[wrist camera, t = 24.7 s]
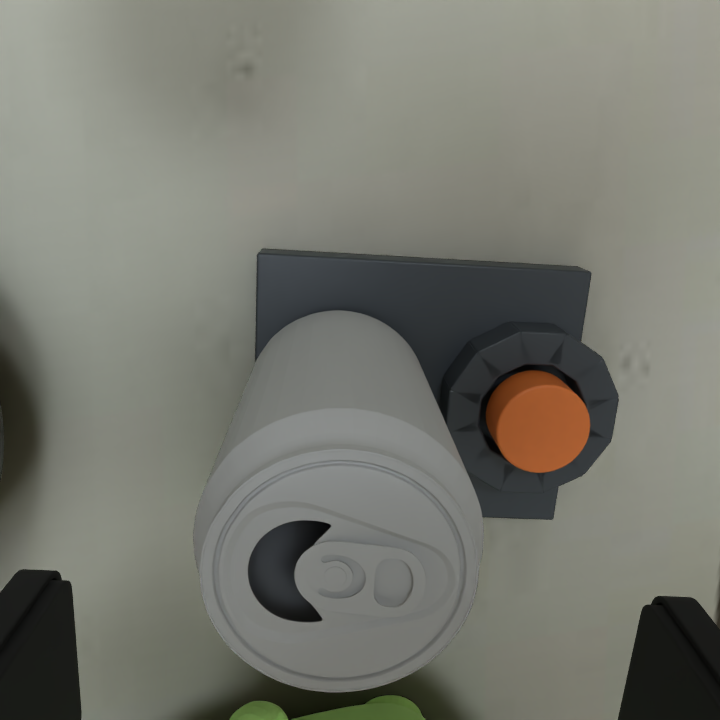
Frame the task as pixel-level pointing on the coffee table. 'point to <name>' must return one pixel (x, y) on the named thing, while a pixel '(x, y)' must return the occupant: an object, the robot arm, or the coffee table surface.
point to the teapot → (338, 711)
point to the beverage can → (338, 513)
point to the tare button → (537, 421)
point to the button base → (461, 345)
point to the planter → (1, 442)
